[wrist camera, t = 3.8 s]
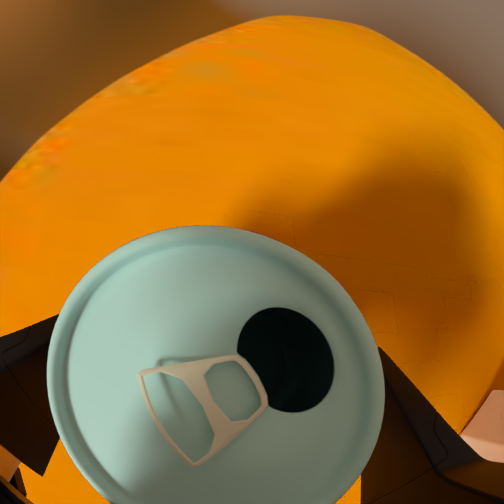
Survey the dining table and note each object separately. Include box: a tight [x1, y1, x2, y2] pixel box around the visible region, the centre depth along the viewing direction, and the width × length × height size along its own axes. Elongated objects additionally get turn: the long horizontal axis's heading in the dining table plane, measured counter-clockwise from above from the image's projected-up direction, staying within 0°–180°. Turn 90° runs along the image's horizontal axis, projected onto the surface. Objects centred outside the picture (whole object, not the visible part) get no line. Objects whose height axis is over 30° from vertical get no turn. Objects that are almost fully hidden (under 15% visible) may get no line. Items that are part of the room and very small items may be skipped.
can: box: [47, 225, 385, 504], centre depth 9 cm, size 7×7×12 cm
